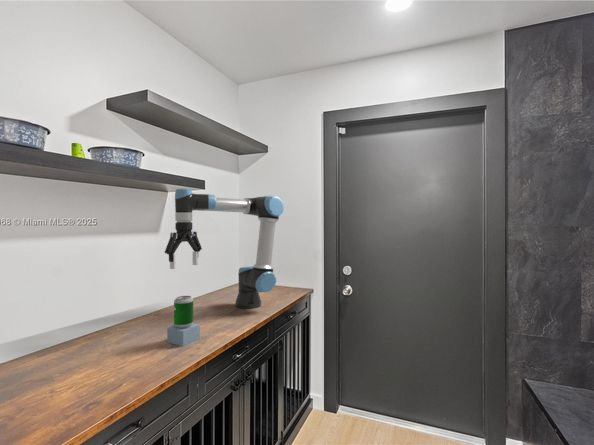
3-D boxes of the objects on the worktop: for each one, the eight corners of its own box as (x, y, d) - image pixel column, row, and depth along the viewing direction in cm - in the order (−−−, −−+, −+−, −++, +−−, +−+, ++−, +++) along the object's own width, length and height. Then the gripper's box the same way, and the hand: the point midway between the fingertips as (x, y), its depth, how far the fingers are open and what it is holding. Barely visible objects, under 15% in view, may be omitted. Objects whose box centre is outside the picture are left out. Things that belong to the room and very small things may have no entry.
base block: (184, 335, 137) (184, 321, 137) (199, 338, 133) (199, 324, 133) (167, 342, 129) (167, 327, 129) (183, 346, 125) (183, 331, 125)
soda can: (196, 324, 134) (196, 295, 134) (185, 329, 126) (186, 300, 126) (181, 322, 136) (181, 294, 136) (170, 328, 129) (170, 298, 129)
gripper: (197, 221, 161) (198, 263, 161) (155, 222, 139) (156, 270, 139) (208, 221, 158) (209, 263, 158) (167, 222, 136) (168, 271, 136)
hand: (184, 266), depth 148 cm, fingers open, 13 cm apart
